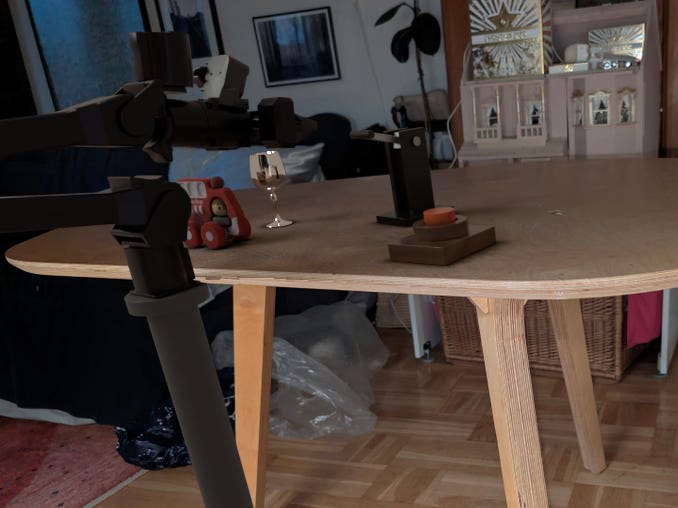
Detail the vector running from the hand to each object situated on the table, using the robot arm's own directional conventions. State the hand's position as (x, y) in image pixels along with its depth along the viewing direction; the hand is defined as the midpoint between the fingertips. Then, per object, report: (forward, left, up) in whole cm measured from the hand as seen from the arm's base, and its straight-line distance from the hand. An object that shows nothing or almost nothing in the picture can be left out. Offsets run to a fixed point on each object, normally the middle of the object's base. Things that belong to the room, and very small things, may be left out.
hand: (295, 127), depth 101 cm
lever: (+11, -7, -4) cm, 14 cm away
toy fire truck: (-6, +16, -16) cm, 24 cm away
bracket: (+15, -7, -16) cm, 23 cm away
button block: (-2, -26, -16) cm, 31 cm away
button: (-2, -26, -13) cm, 29 cm away
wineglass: (+7, +17, -16) cm, 25 cm away
